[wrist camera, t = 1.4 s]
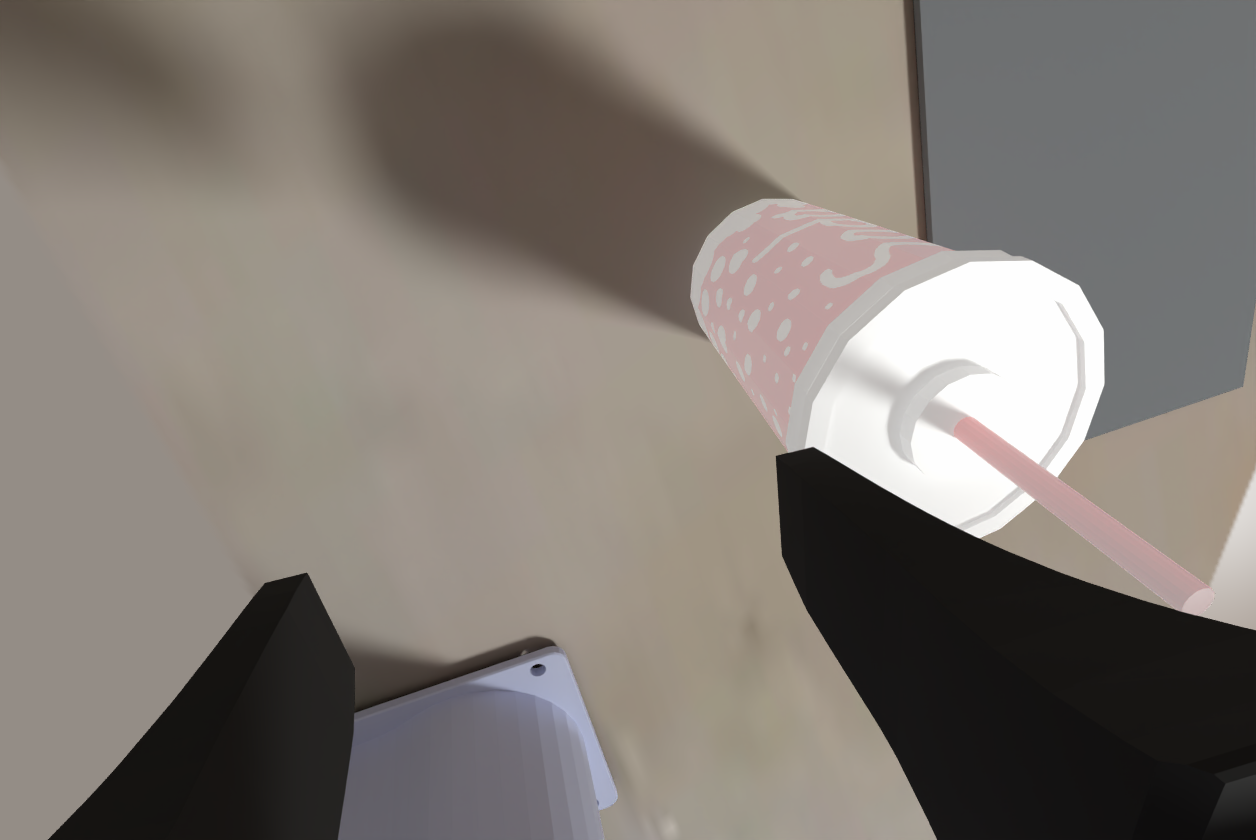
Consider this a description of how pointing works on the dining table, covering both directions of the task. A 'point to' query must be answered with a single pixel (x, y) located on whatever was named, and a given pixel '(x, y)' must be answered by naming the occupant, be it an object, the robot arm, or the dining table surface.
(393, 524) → the dining table surface
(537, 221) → the dining table surface
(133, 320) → the dining table surface
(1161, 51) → the rubber mat
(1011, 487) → the beverage cup
